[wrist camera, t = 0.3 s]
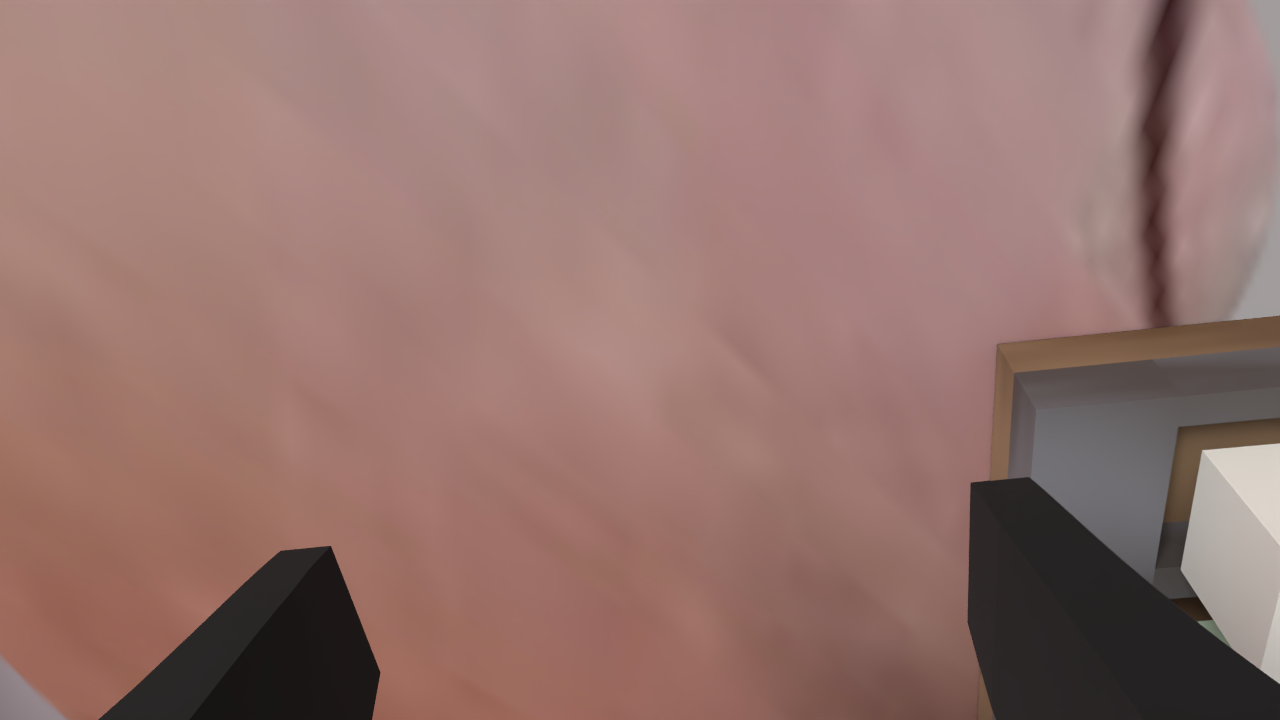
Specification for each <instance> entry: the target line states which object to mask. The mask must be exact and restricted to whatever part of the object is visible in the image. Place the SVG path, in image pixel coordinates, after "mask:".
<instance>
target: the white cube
mask: <svg viewBox="0 0 1280 720" xmlns="http://www.w3.org/2000/svg"><path fill="white" fill-rule="evenodd" d="M1181 571H1182V573H1183V574H1184V576H1185V577H1186V579H1187V581H1188V582H1189V584H1190V585H1191V587H1192V588H1193V590H1194V591H1195V593H1196V594H1197V596H1198V597H1199V599H1200V600H1201V602H1202V603H1203V605H1204V606H1205V608H1206V609H1207V611H1208V612H1209V614H1210V615H1211V617H1212V619H1213V620H1214V622H1215V623H1216V625H1217V626H1218V628H1219V629H1220V631H1221V632H1222V634H1223V635H1224V637H1225V638H1226V640H1227V641H1228V643H1229V644H1230V646H1231V647H1232V649H1233V650H1234V651H1236V652H1237V653H1238V654H1240V655H1241V656H1243V657H1244V658H1245V659H1247V660H1248V661H1249V662H1251V663H1252V664H1253V665H1255V666H1256V667H1257V668H1259V669H1260V670H1261V671H1263V672H1264V673H1265V674H1267V675H1268V676H1269V677H1271V678H1272V679H1274V680H1275V681H1276V682H1278V683H1279V684H1280V443H1279V444H1268V445H1256V446H1245V447H1234V448H1223V449H1211V450H1202V454H1201V460H1200V465H1199V471H1198V476H1197V482H1196V487H1195V493H1194V498H1193V504H1192V509H1191V515H1190V520H1189V526H1188V531H1187V537H1186V542H1185V548H1184V553H1183V559H1182V564H1181Z"/></svg>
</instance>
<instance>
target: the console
mask: <svg viewBox="0 0 1280 720" xmlns="http://www.w3.org/2000/svg"><path fill="white" fill-rule="evenodd" d="M1279 443H1280V316H1273V317H1263V318H1253V319H1243V320H1233V321H1223V322H1213V323H1203V324H1193V325H1183V326H1173V327H1163V328H1153V329H1143V330H1133V331H1123V332H1114V333H1104V334H1094V335H1084V336H1074V337H1064V338H1054V339H1044V340H1034V341H1024V342H1014V343H1004V344H997V357H996V376H995V395H994V414H993V433H992V453H991V472H990V481H993V480H1003V479H1013V478H1023V477H1030V478H1031V479H1032V480H1033V481H1035V482H1036V483H1037V484H1038V485H1039V486H1041V487H1042V488H1043V489H1044V490H1045V491H1046V492H1047V493H1048V494H1050V495H1051V496H1052V497H1053V498H1054V499H1055V500H1056V501H1057V502H1058V503H1059V504H1061V505H1062V506H1063V507H1064V508H1065V509H1066V510H1067V511H1068V512H1069V513H1070V514H1072V515H1073V516H1074V517H1075V518H1076V519H1077V520H1078V521H1079V522H1080V523H1082V524H1083V525H1084V526H1085V527H1086V528H1087V529H1088V530H1089V531H1090V532H1092V533H1093V534H1094V535H1095V536H1096V537H1097V538H1098V539H1099V540H1101V541H1102V542H1103V543H1104V544H1105V545H1106V546H1107V547H1108V548H1110V549H1111V550H1112V551H1113V552H1114V553H1115V554H1116V555H1118V556H1119V557H1120V558H1121V559H1122V560H1123V561H1124V562H1126V563H1127V564H1128V565H1129V566H1130V567H1131V568H1133V569H1134V570H1135V571H1136V572H1137V573H1138V574H1140V575H1141V576H1142V577H1143V578H1144V579H1146V580H1147V581H1148V582H1149V583H1150V584H1152V585H1153V586H1154V587H1155V588H1157V589H1158V590H1159V591H1160V592H1161V593H1163V594H1164V595H1165V596H1166V597H1167V598H1169V599H1170V600H1171V601H1172V602H1174V603H1175V604H1176V605H1177V606H1178V607H1180V608H1181V609H1182V610H1183V611H1184V612H1186V613H1187V614H1188V615H1189V616H1191V617H1192V618H1193V619H1194V620H1196V621H1208V620H1213V619H1212V617H1211V615H1210V614H1209V612H1208V611H1207V609H1206V608H1205V606H1204V605H1203V603H1202V602H1201V600H1200V599H1199V597H1198V596H1197V594H1196V593H1195V591H1194V590H1193V588H1192V587H1191V585H1190V584H1189V582H1188V581H1187V579H1186V577H1185V576H1184V574H1183V573H1182V571H1181V564H1182V559H1183V553H1184V548H1185V542H1186V537H1187V531H1188V526H1189V520H1190V515H1191V509H1192V504H1193V498H1194V493H1195V487H1196V482H1197V476H1198V471H1199V465H1200V460H1201V454H1202V450H1211V449H1223V448H1234V447H1245V446H1256V445H1268V444H1279ZM978 720H996V718H995V716H994V713H993V711H992V708H991V704H990V701H989V698H988V694H987V691H986V687H985V684H984V680H983V677H982V673H981V670H980V682H979V701H978Z"/></svg>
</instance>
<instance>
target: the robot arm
mask: <svg viewBox="0 0 1280 720" xmlns="http://www.w3.org/2000/svg"><path fill="white" fill-rule="evenodd" d="M968 625H969V629H970V633H971V636H972V640H973V644H974V648H975V651H976V655H977V659H978V662H979V666H980V670H981V673H982V677H983V680H984V684H985V687H986V691H987V694H988V698H989V701H990V704H991V708H992V711H993V713H994V716H995V718H996V720H1280V684H1279V683H1278V682H1276V681H1275V680H1274V679H1272V678H1271V677H1269V676H1268V675H1267V674H1265V673H1264V672H1263V671H1261V670H1260V669H1259V668H1257V667H1256V666H1255V665H1253V664H1252V663H1251V662H1249V661H1248V660H1247V659H1245V658H1244V657H1243V656H1241V655H1240V654H1238V653H1237V652H1236V651H1234V650H1233V649H1232V648H1230V647H1229V646H1228V645H1226V644H1225V643H1224V642H1222V641H1221V640H1220V639H1219V638H1217V637H1216V636H1215V635H1213V634H1212V633H1211V632H1210V631H1208V630H1207V629H1206V628H1205V627H1203V626H1202V625H1201V624H1199V623H1198V622H1197V621H1196V620H1194V619H1193V618H1192V617H1191V616H1189V615H1188V614H1187V613H1186V612H1184V611H1183V610H1182V609H1181V608H1180V607H1178V606H1177V605H1176V604H1175V603H1174V602H1172V601H1171V600H1170V599H1169V598H1167V597H1166V596H1165V595H1164V594H1163V593H1161V592H1160V591H1159V590H1158V589H1157V588H1155V587H1154V586H1153V585H1152V584H1150V583H1149V582H1148V581H1147V580H1146V579H1144V578H1143V577H1142V576H1141V575H1140V574H1138V573H1137V572H1136V571H1135V570H1134V569H1133V568H1131V567H1130V566H1129V565H1128V564H1127V563H1126V562H1124V561H1123V560H1122V559H1121V558H1120V557H1119V556H1118V555H1116V554H1115V553H1114V552H1113V551H1112V550H1111V549H1110V548H1108V547H1107V546H1106V545H1105V544H1104V543H1103V542H1102V541H1101V540H1099V539H1098V538H1097V537H1096V536H1095V535H1094V534H1093V533H1092V532H1090V531H1089V530H1088V529H1087V528H1086V527H1085V526H1084V525H1083V524H1082V523H1080V522H1079V521H1078V520H1077V519H1076V518H1075V517H1074V516H1073V515H1072V514H1070V513H1069V512H1068V511H1067V510H1066V509H1065V508H1064V507H1063V506H1062V505H1061V504H1059V503H1058V502H1057V501H1056V500H1055V499H1054V498H1053V497H1052V496H1051V495H1050V494H1048V493H1047V492H1046V491H1045V490H1044V489H1043V488H1042V487H1041V486H1039V485H1038V484H1037V483H1036V482H1035V481H1033V480H1032V479H1031V478H1030V477H1023V478H1013V479H1003V480H993V481H983V482H973V483H971V492H970V539H969V586H968ZM379 677H380V670H379V668H378V665H377V663H376V660H375V658H374V655H373V652H372V650H371V647H370V645H369V642H368V640H367V637H366V635H365V632H364V629H363V627H362V624H361V622H360V619H359V617H358V614H357V612H356V609H355V606H354V604H353V601H352V599H351V596H350V594H349V591H348V589H347V586H346V583H345V581H344V578H343V576H342V573H341V571H340V568H339V566H338V563H337V560H336V558H335V555H334V553H333V550H332V548H331V546H325V547H315V548H305V549H295V550H285V551H280V552H279V553H278V554H277V555H275V556H274V557H273V558H272V559H271V560H270V561H268V562H267V563H266V564H265V565H264V566H263V567H262V568H260V569H259V570H258V571H257V572H256V573H255V574H254V575H253V576H252V577H251V578H250V579H249V580H247V581H246V582H245V583H244V584H243V585H242V586H241V587H240V588H239V589H238V590H237V591H236V592H235V593H234V594H233V595H232V596H231V597H229V598H228V599H227V600H226V601H225V602H224V603H223V604H222V605H221V606H220V607H219V608H218V609H217V610H216V611H215V612H214V613H213V614H212V615H211V616H210V617H209V618H208V619H207V620H206V621H205V622H203V623H202V624H201V625H200V626H199V627H198V628H197V629H196V630H195V631H194V632H193V633H192V634H191V635H190V636H189V637H188V638H187V639H186V640H185V641H184V642H182V643H181V644H180V645H179V646H178V647H177V648H176V649H175V650H174V651H173V652H172V653H171V654H170V655H169V656H168V657H167V658H166V659H165V660H163V661H162V662H161V663H160V664H159V665H158V666H157V667H156V668H155V669H154V670H153V671H152V672H151V673H150V674H149V675H148V676H147V677H145V678H144V679H143V680H142V681H141V682H140V683H139V684H138V685H137V686H136V687H135V688H134V689H133V690H132V691H130V692H129V693H128V694H127V695H126V696H125V697H124V698H122V699H121V700H120V701H119V702H118V703H117V704H116V705H115V706H113V707H112V708H111V709H110V710H109V711H108V712H107V713H105V714H104V715H103V716H102V717H101V718H100V719H99V720H372V716H373V710H374V705H375V699H376V694H377V688H378V682H379Z"/></svg>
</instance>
